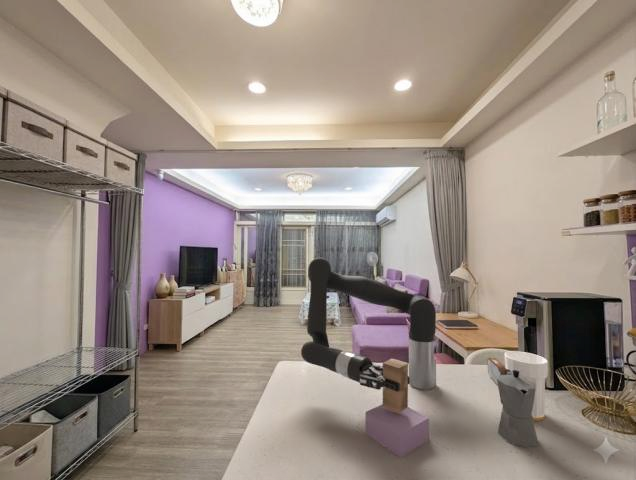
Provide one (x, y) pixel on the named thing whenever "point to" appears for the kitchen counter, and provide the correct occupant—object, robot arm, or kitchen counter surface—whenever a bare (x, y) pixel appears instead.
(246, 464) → the kitchen counter surface
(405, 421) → the base block
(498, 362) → the tin
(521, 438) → the coffeepot
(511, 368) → the cup
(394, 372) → the walnut block
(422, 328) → the robot arm
